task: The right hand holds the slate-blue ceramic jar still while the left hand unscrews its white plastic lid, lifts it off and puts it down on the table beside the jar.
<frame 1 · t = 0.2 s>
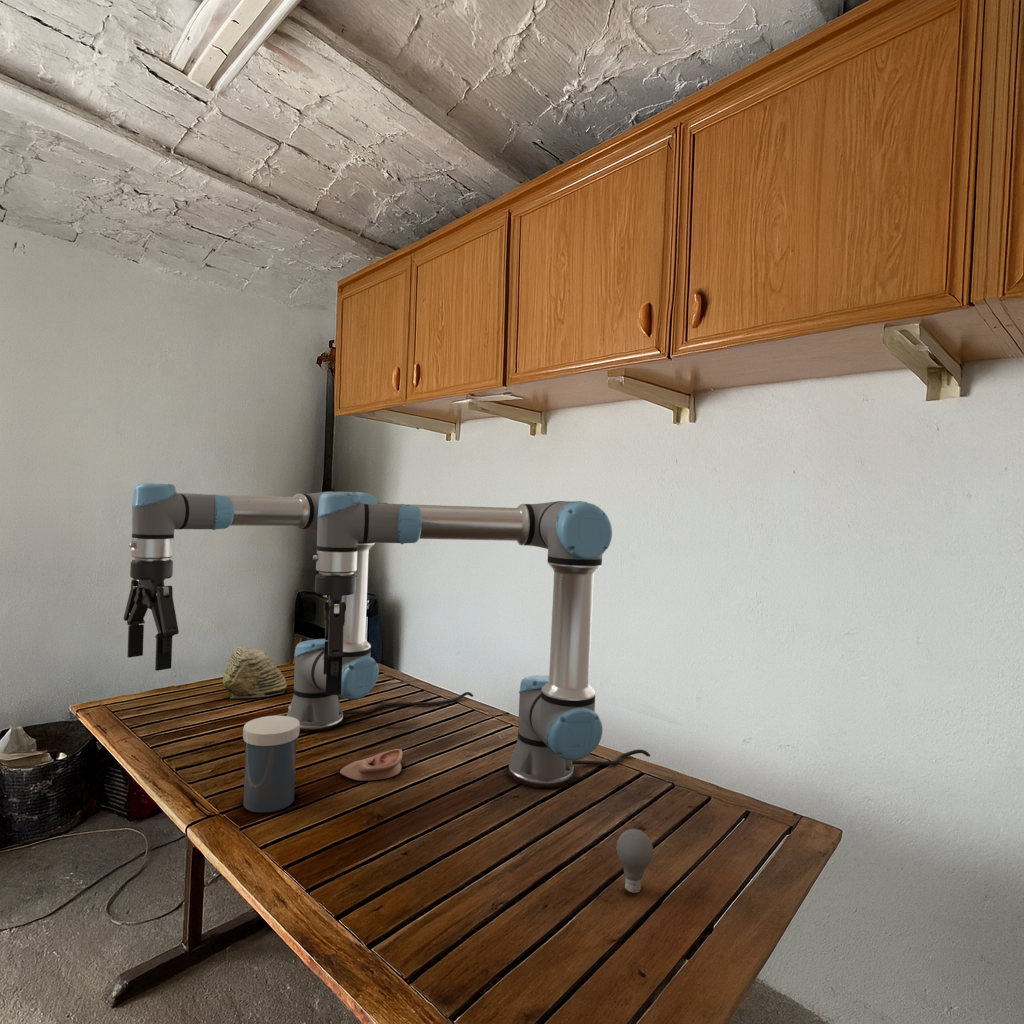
left hand: (148, 662, 129), 28 cm above the table, tool pointing down, fingers open, 13 cm apart
right hand: (331, 683, 121), 28 cm above the table, tool pointing down, fingers open, 13 cm apart
fossil: (254, 694, 198), on the table
jar: (269, 800, 131), on the table
anatomical model: (371, 771, 147), on the table
light bulb: (632, 891, 106), on the table
lid: (271, 726, 131), point 16 cm above the table, screwed on, not yet turned
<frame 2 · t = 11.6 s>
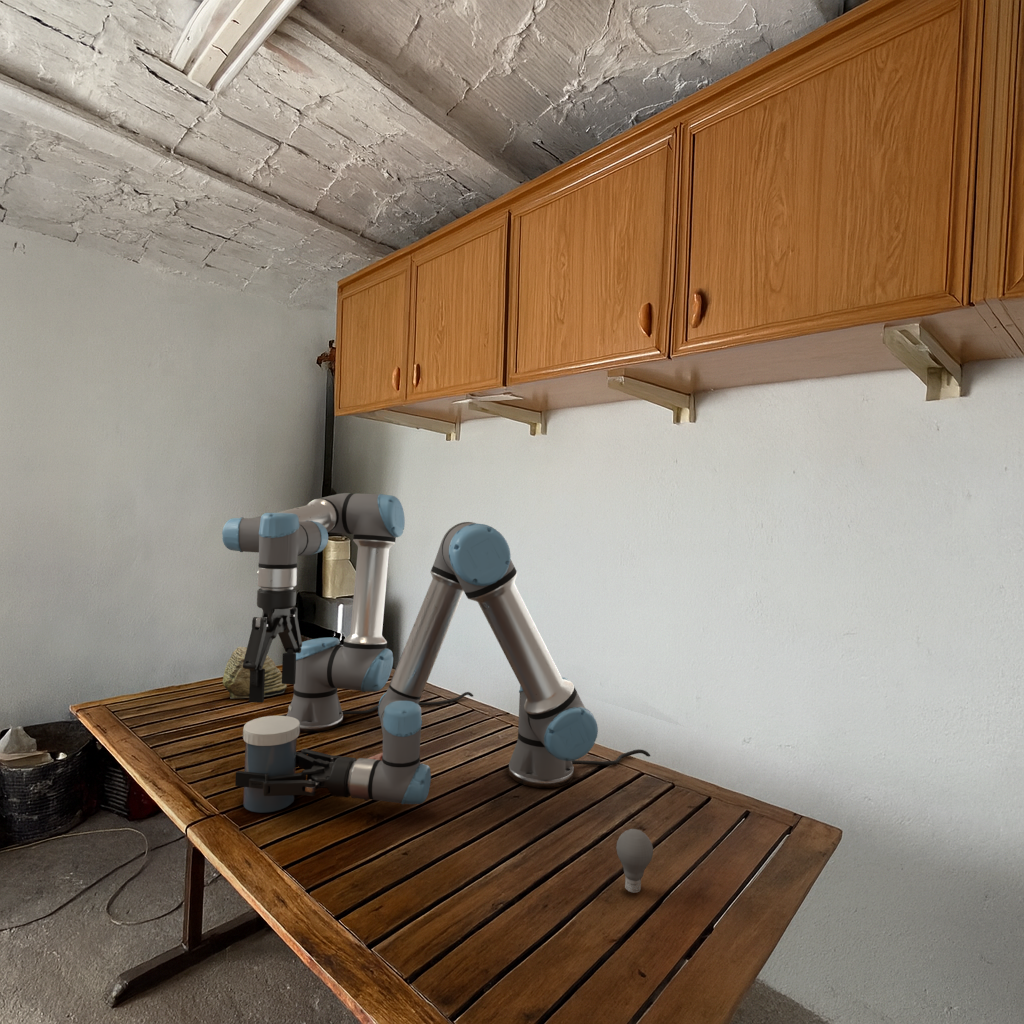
left hand: (273, 692, 131), 23 cm above the table, tool pointing down, fingers open, 12 cm apart
right hand: (250, 767, 131), 7 cm above the table, tool horizontal, fingers closed on jar, 10 cm apart
jar: (269, 800, 131), on the table, touching right hand
everything else where it was.
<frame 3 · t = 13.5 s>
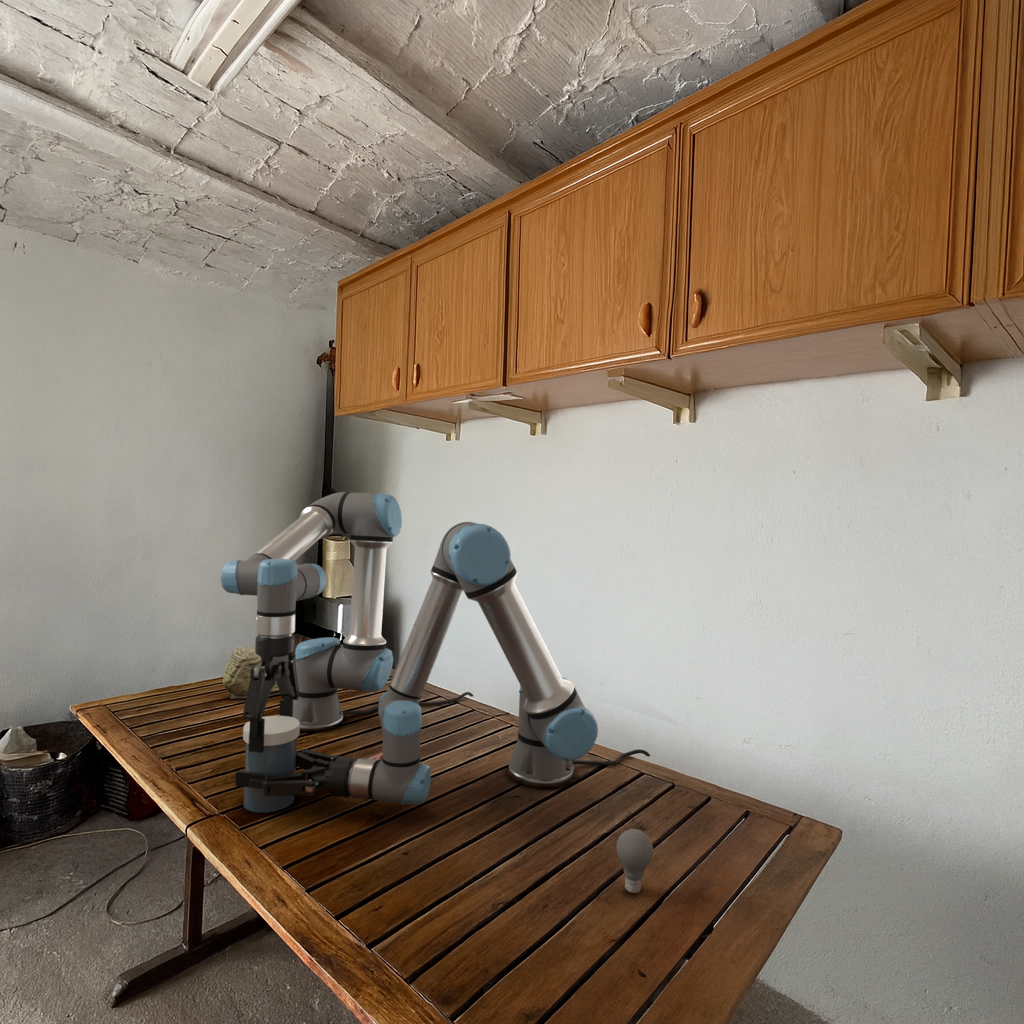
left hand: (271, 740, 131), 13 cm above the table, tool pointing down, fingers closed on lid, 11 cm apart
right hand: (250, 767, 131), 7 cm above the table, tool horizontal, fingers closed on jar, 10 cm apart
jar: (269, 800, 131), on the table, touching right hand
lid: (271, 726, 131), point 16 cm above the table, screwed on, not yet turned, touching left hand
everything else where it was.
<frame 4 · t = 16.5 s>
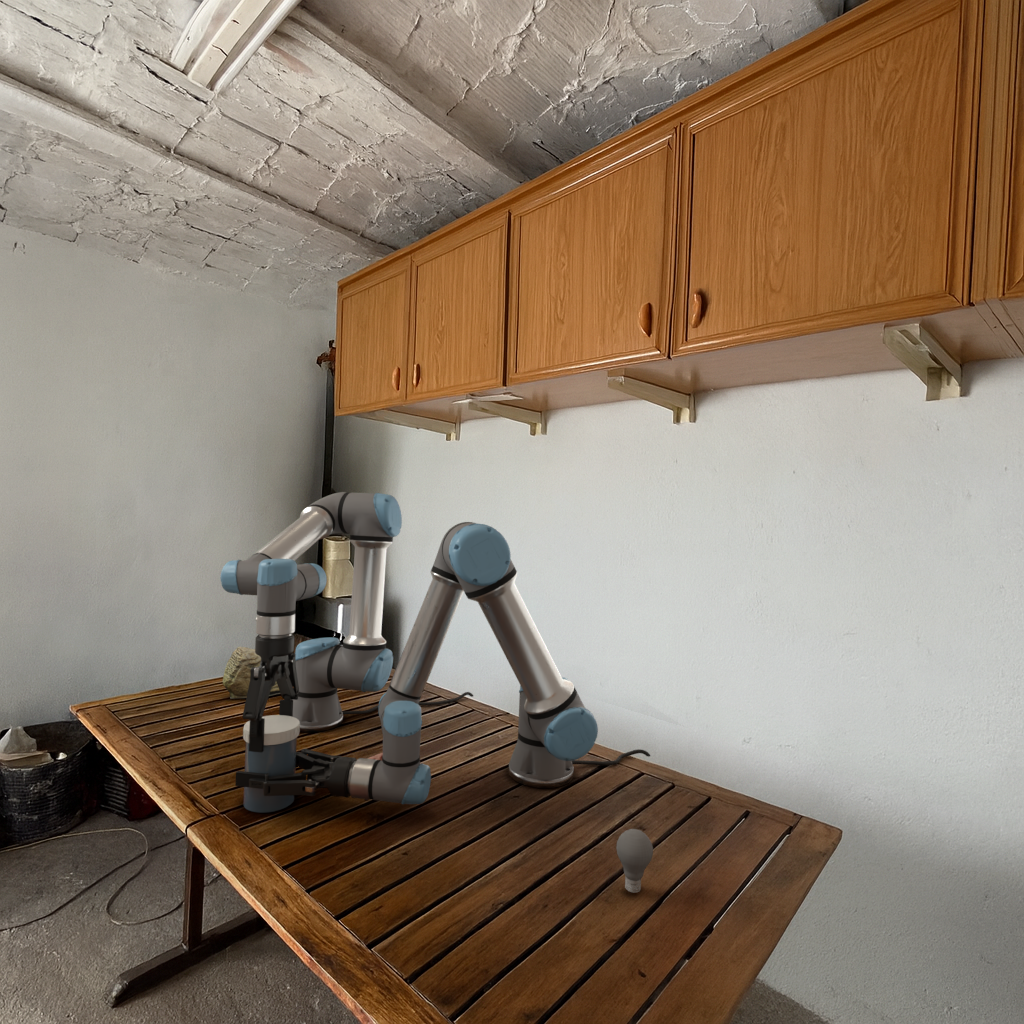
left hand: (271, 740, 131), 13 cm above the table, tool pointing down, fingers closed on lid, 11 cm apart
right hand: (250, 767, 131), 7 cm above the table, tool horizontal, fingers closed on jar, 10 cm apart
jar: (269, 800, 131), on the table, touching right hand
lid: (272, 725, 131), point 16 cm above the table, turned 82° so far, risen 0.1 cm, still on its thread, touching left hand
everything else where it was.
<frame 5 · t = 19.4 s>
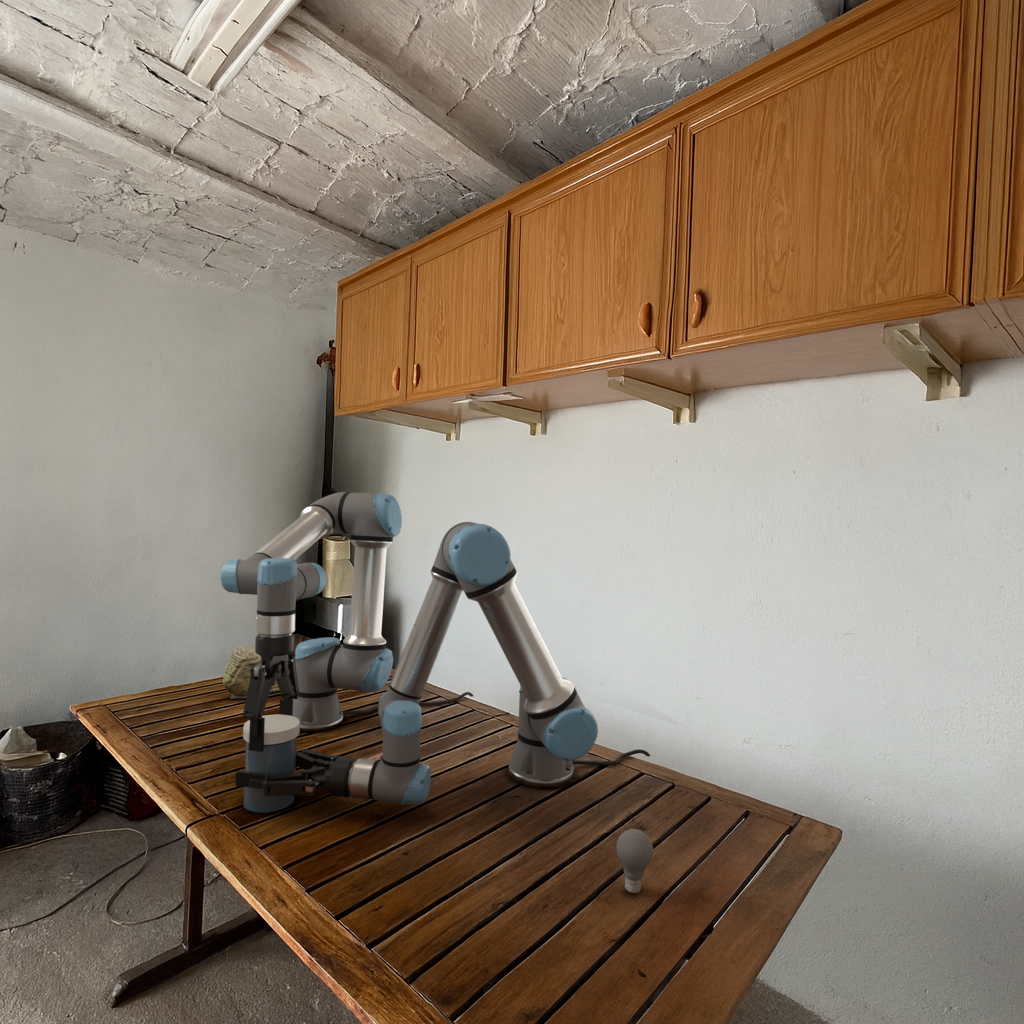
left hand: (271, 739, 131), 13 cm above the table, tool pointing down, fingers closed on lid, 11 cm apart
right hand: (250, 767, 131), 7 cm above the table, tool horizontal, fingers closed on jar, 10 cm apart
jar: (269, 800, 131), on the table, touching right hand
lid: (272, 725, 131), point 16 cm above the table, turned 165° so far, risen 0.2 cm, still on its thread, touching left hand
everything else where it was.
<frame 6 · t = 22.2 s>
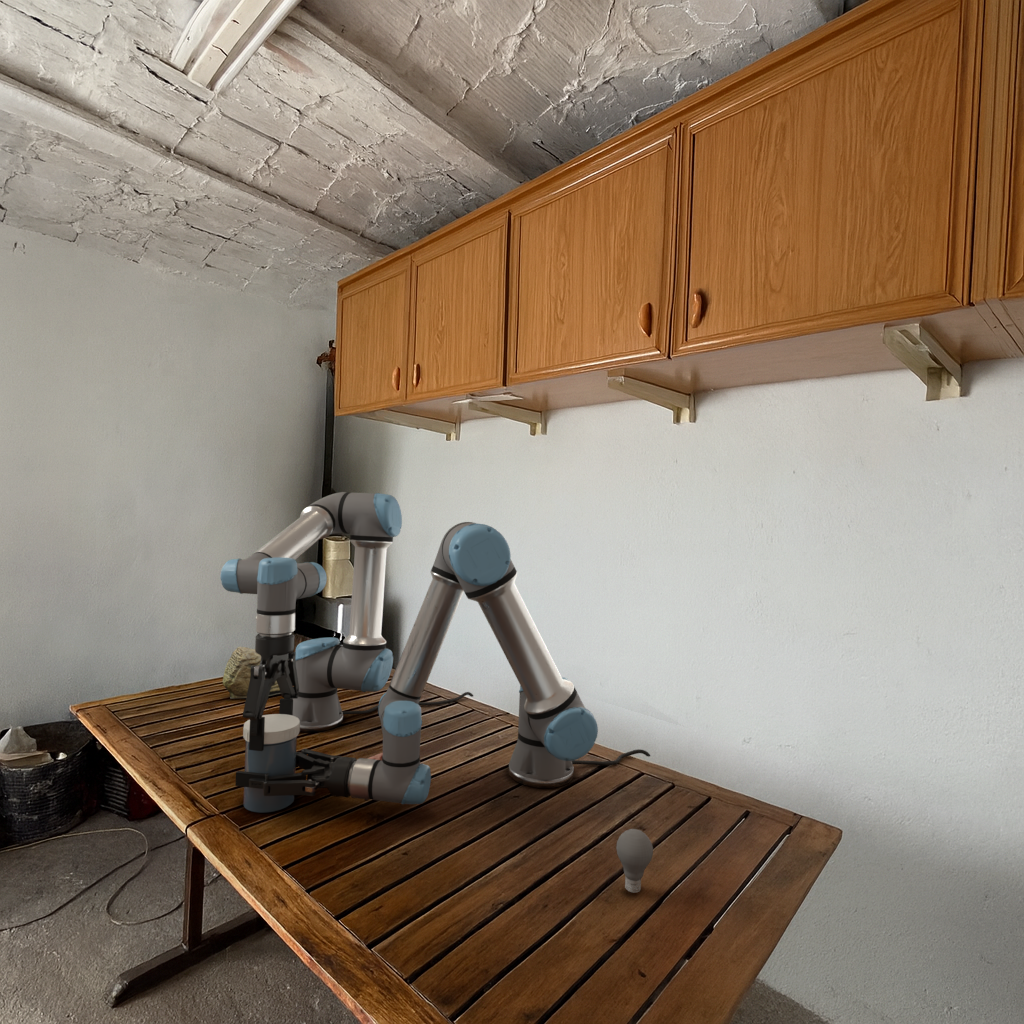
left hand: (271, 739, 131), 13 cm above the table, tool pointing down, fingers closed on lid, 11 cm apart
right hand: (250, 767, 131), 7 cm above the table, tool horizontal, fingers closed on jar, 10 cm apart
jar: (269, 800, 131), on the table, touching right hand
lid: (272, 724, 131), point 16 cm above the table, turned 247° so far, risen 0.4 cm, still on its thread, touching left hand
everything else where it was.
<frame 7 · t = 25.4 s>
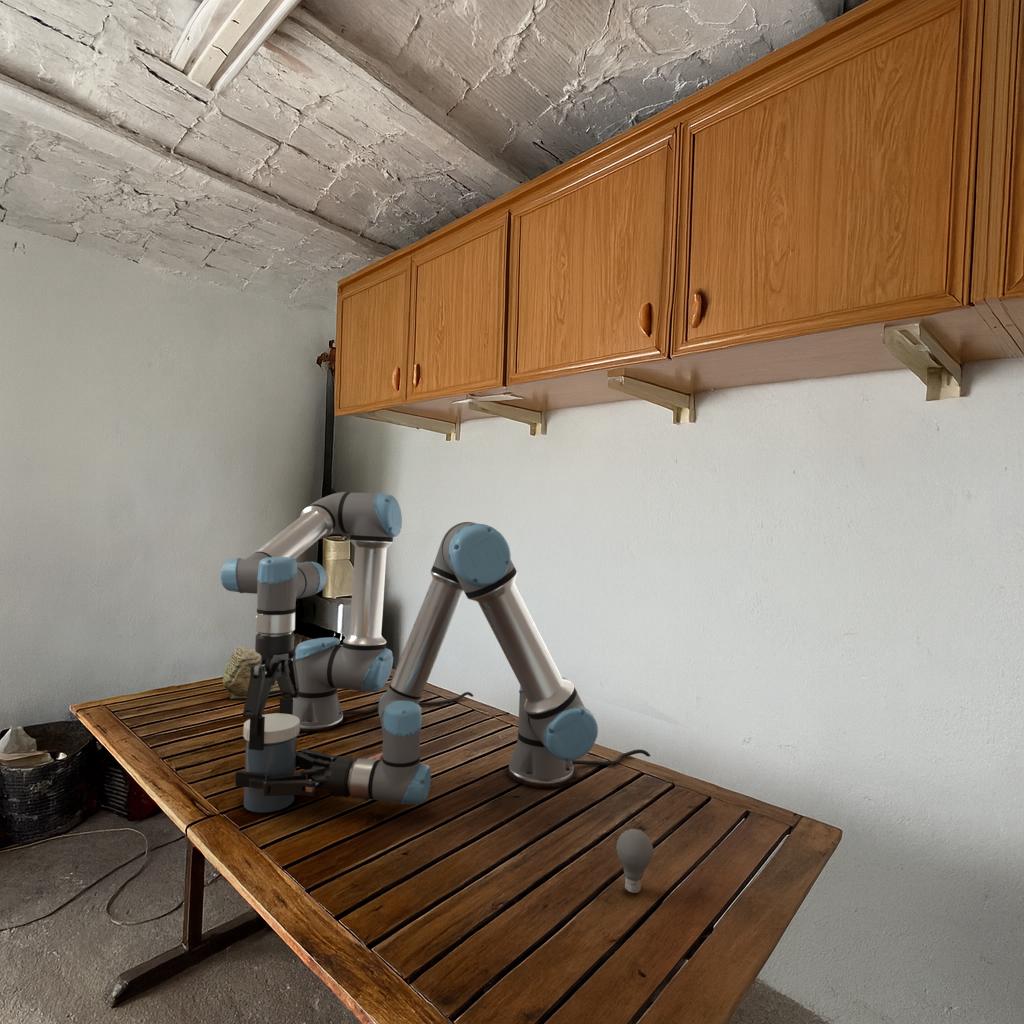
left hand: (271, 738, 131), 13 cm above the table, tool pointing down, fingers closed on lid, 11 cm apart
right hand: (250, 767, 131), 7 cm above the table, tool horizontal, fingers closed on jar, 10 cm apart
jar: (269, 800, 131), on the table, touching right hand
lid: (272, 723, 131), point 16 cm above the table, turned 330° so far, risen 0.5 cm, still on its thread, touching left hand
everything else where it was.
when the left hand's fingers open (0 cm above the table, at t = 34.5 s): lid drops 1 cm, point 2 cm above the table.
when the right hand's fingers open (7 cm above the table, at t = 35.5 s): jar stays where it is, on the table.
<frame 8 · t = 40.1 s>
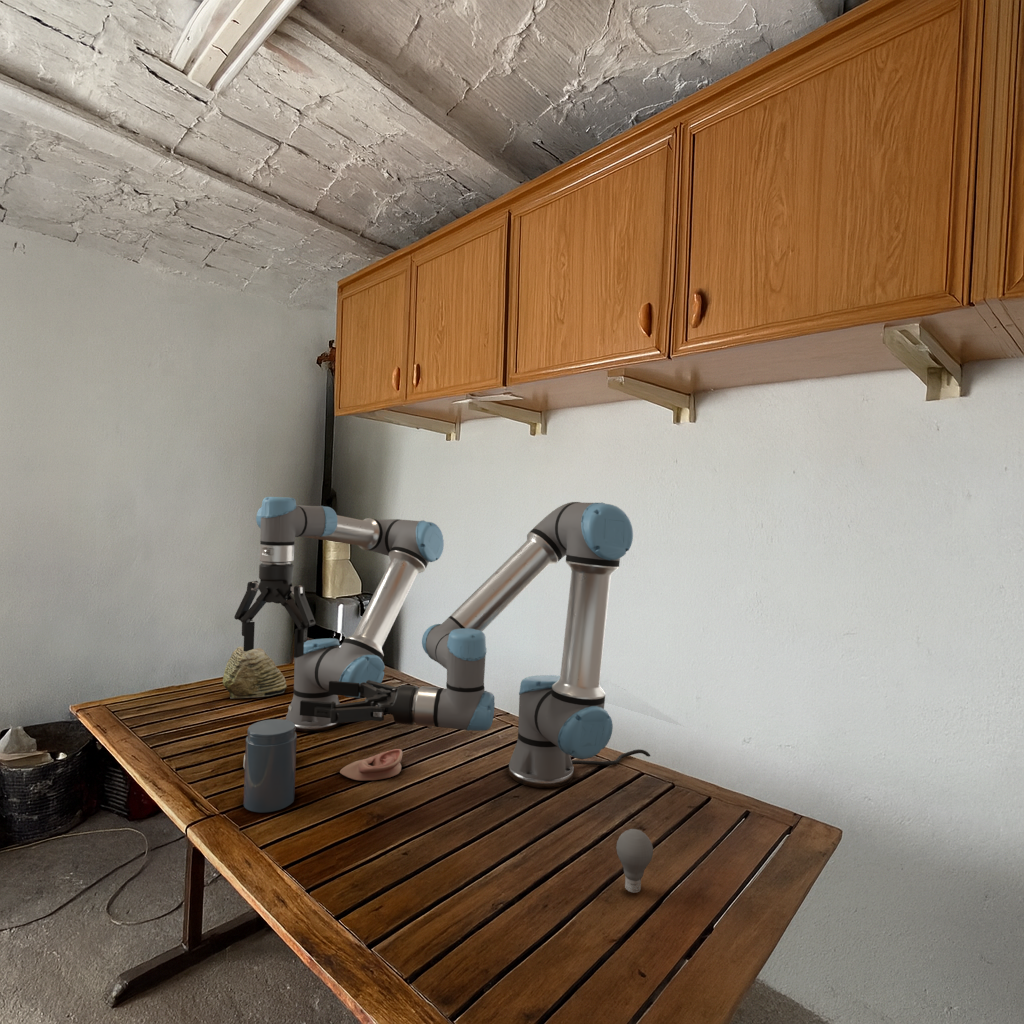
left hand: (273, 653, 148), 26 cm above the table, tool pointing down, fingers open, 13 cm apart
right hand: (315, 697, 130), 22 cm above the table, tool horizontal, fingers open, 13 cm apart
jar: (269, 800, 131), on the table
lid: (268, 755, 149), point 2 cm above the table, off its thread
everything else where it was.
at the end: lid came off its thread; lid point 2.0 cm above the table; the left hand is holding nothing; the right hand is holding nothing; jar tilted 0°; jar moved 0.0 cm from its start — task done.
